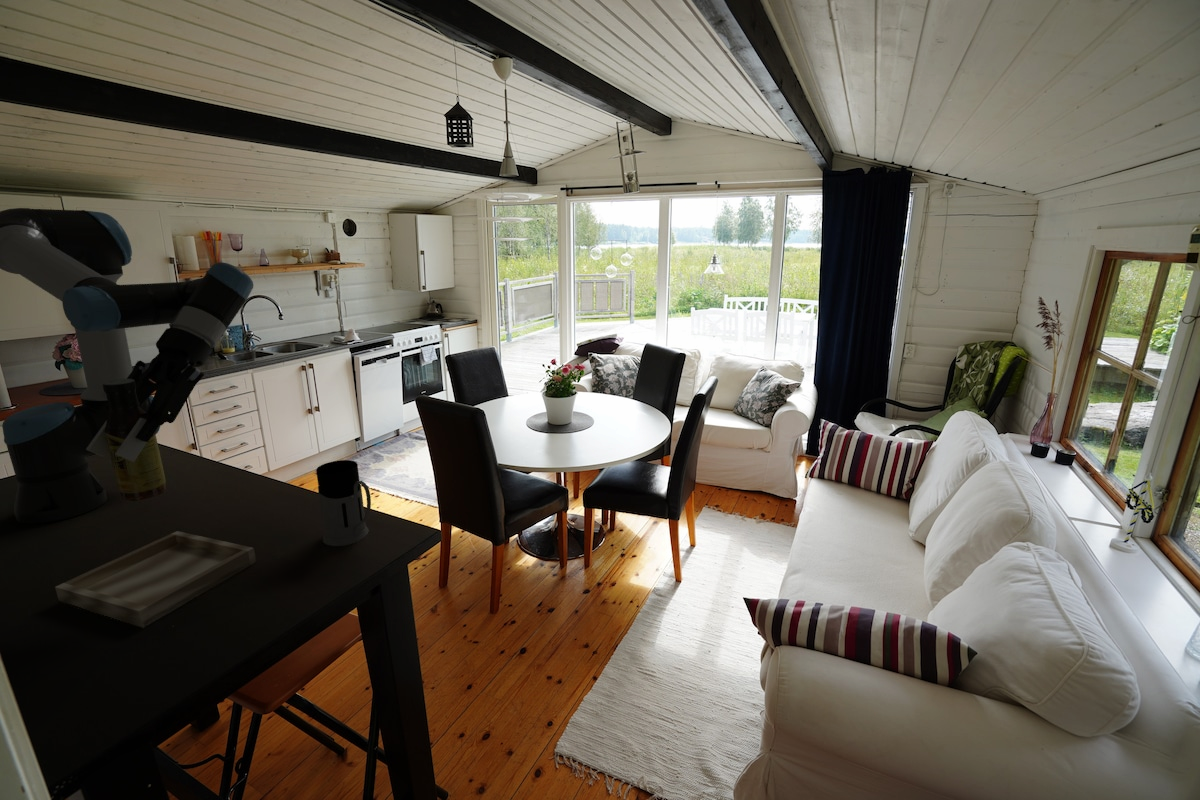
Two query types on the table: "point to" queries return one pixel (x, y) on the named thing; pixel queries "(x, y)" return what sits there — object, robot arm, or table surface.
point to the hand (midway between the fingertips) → (110, 455)
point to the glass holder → (342, 503)
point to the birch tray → (156, 577)
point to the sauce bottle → (123, 414)
